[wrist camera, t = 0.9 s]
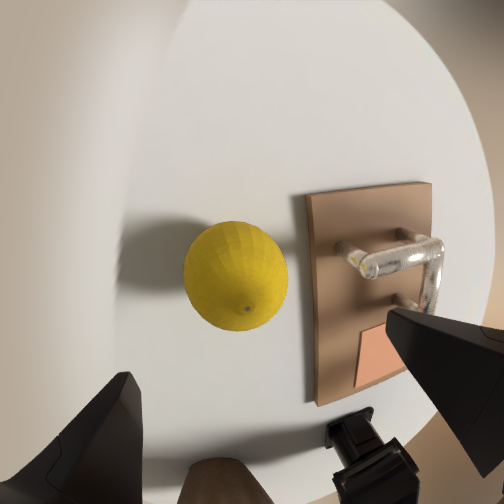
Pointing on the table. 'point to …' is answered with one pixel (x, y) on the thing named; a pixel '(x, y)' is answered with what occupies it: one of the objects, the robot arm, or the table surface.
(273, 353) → the table surface
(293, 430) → the table surface
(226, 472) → the plant pot
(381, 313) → the walnut board
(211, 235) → the lemon
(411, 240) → the bent wire
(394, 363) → the terracotta tile
